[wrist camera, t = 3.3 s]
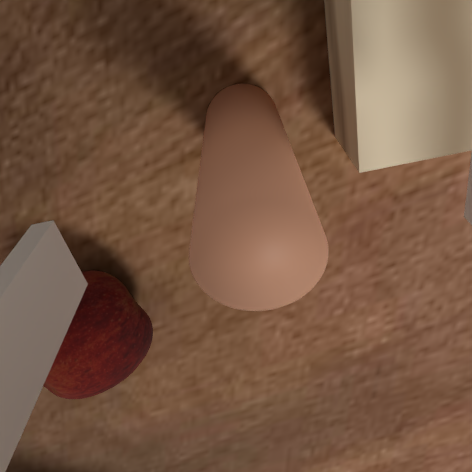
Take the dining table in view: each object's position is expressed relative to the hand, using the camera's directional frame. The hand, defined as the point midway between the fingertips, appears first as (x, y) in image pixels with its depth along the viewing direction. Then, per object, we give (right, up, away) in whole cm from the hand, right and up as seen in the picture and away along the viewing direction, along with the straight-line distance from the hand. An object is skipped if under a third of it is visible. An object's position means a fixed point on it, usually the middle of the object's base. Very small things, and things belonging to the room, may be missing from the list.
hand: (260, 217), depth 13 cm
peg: (0, +6, +10) cm, 11 cm away
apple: (-10, -5, +16) cm, 20 cm away
